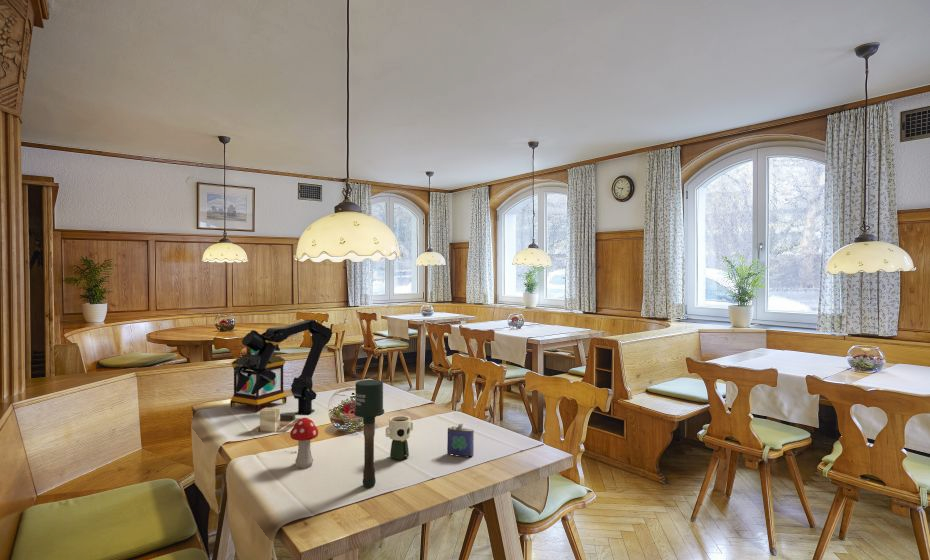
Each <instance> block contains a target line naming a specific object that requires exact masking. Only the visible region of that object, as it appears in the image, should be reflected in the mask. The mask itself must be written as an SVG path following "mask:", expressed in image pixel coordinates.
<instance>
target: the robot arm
mask: <svg viewBox="0 0 930 560" xmlns="http://www.w3.org/2000/svg"><path fill="white" fill-rule="evenodd" d="M305 331H308V333H310V334H311V347H310V350H309V352H308V354H307V358H306V360H305V363H304V365H303V368H302V370H301V373H300V375H299V376H298V377H294V378H293V380H292V384H290V387H291V389H290V391H291V394H292V396H293V399H295V400H297V406H298V407H297V411H296V412H295V413H294V414H295V415H301V416H302V415H306V416H308V415H311V414H312V413H314V412H315V411H316V410H315V409H313V405H312V404H313V403H312V402H313V401H314V400H316V398H317V394H318V393H316V392H315V391H314V390H313V385H314V383H313V376H314V373H315V370H316V367H317V365H318V362H319V359H320V357H321V354H322V352H323V349H324V347H325V346H326V345H327V344H329V342H330V340H331V338H332V336H333V332H332V329H331V328H329V327H327V326H325V325H323V324H321V323H319V322H318V321H316V320H315V319H308V318H307V319H305V320H302V321H299V322H296V323H292V324H288V325H287V326H275V327H269V328H267V329H266V331H264V332H263V333H259V332H258V331H257V330H254V329H251V330H250V332H248V333H247V334H246V335H244V336H243V338H242V340H241V344H242V346H245V347H247V348H248V349H250V351H251V350H253V351H258V352H257V354H256V355H253V356H250V357H249V358H244V357H243V356H238V358H239V361H238V365H237V366H236V367H235V369H234V368H233V372H234V371H236V372H235V373H236V374H237V376H238V381H237V387H236V391H237V392H239V391H240V390H241V389H242V388H243V386H244V385H245V384H246V383H247V382H248V380H249V379H250V378H249V377H250V376H251V375H252V374H253V375H256V379H257V380H256V383H255V385H254V387H253V390H252V392H251V394H252V395H254V394H255V393H256V392H258V391H259V390H260V389H261V388H263V387H264V386H265V385H267V384H268V383H269V382H271V381H270V380H272V381H274V380H275V378H276V373H274V372H272V371H271V370H269V369H266V367H267V365H268V364H271V362H270V359H271V357H272V355H274V353H275V352H280V351H281V348H280V347H279V346H280V345H279V344H278V343H282V342H283V341H285V340H287V339H288V338H289V337H290V336H293V335H296V334H300V333H303V332H305ZM272 342H273V343H272ZM274 343H275V344H274ZM276 343H277V344H276Z"/></svg>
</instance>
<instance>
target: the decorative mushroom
mask: <svg viewBox="0 0 930 560" xmlns="http://www.w3.org/2000/svg"><path fill="white" fill-rule="evenodd" d="M300 418H301V419H299V420H298V421H297V422H296V423H295V425H294V427H292V428H291V429H290V433H289V436H290V438H291V439H292V440H295V441H298V444H297V445H298V447H297V448H298V449H297V455H296V457H295V461H294V462H295V465H296V467H297V468H298V469H308V467H309V468H311V467H312V466H313V462H314V458H313V456H312V450H311V440H313V439H316V438H317V437H318V435H319V430H318V427H317V426H316V425H315V423H314V421H313V419H311V418H308V417H300Z"/></svg>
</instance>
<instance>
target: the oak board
mask: <svg viewBox="0 0 930 560" xmlns="http://www.w3.org/2000/svg"><path fill="white" fill-rule="evenodd" d="M301 418H302V417H300V418H299V417H298V418H297V417H296V414H295V413H280V428H281V429H279V430H277V431H276V432H274V433H278V434H279V433H280V434H284V433H287V432H288V431H289V430H292V429H293V427H294V425H295V423H296V422H297V421H298V420H299V419H301ZM248 432H250V433H263V432H262V431H260V424H259V425H257V426H256V427H254V428H253V429H251V430H249V431H248Z"/></svg>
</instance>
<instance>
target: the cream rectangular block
mask: <svg viewBox="0 0 930 560" xmlns="http://www.w3.org/2000/svg"><path fill="white" fill-rule="evenodd" d="M280 414H281V407H264V408H261V409H259V425H260V431H262V432H261V433H275V432H276V431H277V430H279V429H281V428H280Z"/></svg>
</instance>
